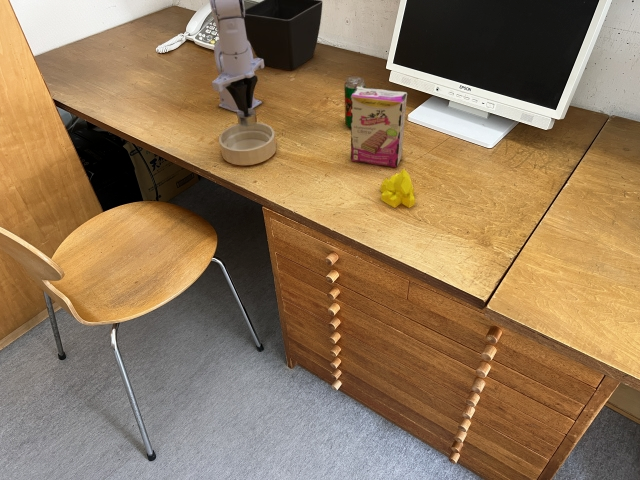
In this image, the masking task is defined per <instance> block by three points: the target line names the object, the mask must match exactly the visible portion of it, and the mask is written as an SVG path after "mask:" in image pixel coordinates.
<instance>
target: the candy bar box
mask: <svg viewBox="0 0 640 480" xmlns="http://www.w3.org/2000/svg"><path fill="white" fill-rule="evenodd" d="M407 99H408V92H406V91H399V90H389V89H381V88H372V87H365V88H364V87H357V88H356V89H355V91H354V93H353V94H352V96H351V128H350V161H351V162H357V163H363V164H370V165H377V166H382V167H383V166H384V167H388V168H389V167H390V168H398V166H399V164H400V162H401V159H402V158H403V157H402V156H403V146H404V145H403V144H404V131H405V124H406V123H405V122H406V110H407Z"/></svg>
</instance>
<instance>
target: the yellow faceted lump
mask: <svg viewBox="0 0 640 480" xmlns="http://www.w3.org/2000/svg"><path fill="white" fill-rule="evenodd" d="M380 192H381V194H380V200H381V201H382V202H383V203H385V204H387V205H388V206H390V207H392V208H394V209H396V208H397V207H398V206H400V205H403V206H405V207H407V208H408V209H410V208H412V207H413V206H415V205H416V198H415V196H414V194H415V193H414V192H415V189H414V187H413V182H412V180H411V175H410V174H409V173H408V172H407V170H406V169H405V168H403V169H402V170H401V171H399V173H395V174H394V175H391V176H390V178H389V179H388V177H385V178H384V180H383V181H382V183H381V184H380Z"/></svg>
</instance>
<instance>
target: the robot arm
mask: <svg viewBox="0 0 640 480" xmlns="http://www.w3.org/2000/svg"><path fill="white" fill-rule="evenodd" d="M209 6H210V10H211V14H212V18H213V20H214V24H215V28H216V31H217V34H218V35H217V36H218V40H217V41H216V42H215V44H214V45H213V52H214V55H213V56H214V61H215V65H216V66H215V67H216V70H217V74H218V76H217V78H215V79H214V80H212V81H211V85H212V89H213V91H214V92H218V96H219V101H220V103H219V104H218V107H219V108H223V109H226V110H229V111H231V112H235V113H237V112H238V111H243V112H246V111H247V105H248V108H249V109H255V108H256V107H258V106H260V105H261V104H262V103H263V101H261V100H259V99H256V98H255V94H254V93H255V89H256V85H257V83H258V81H259V79H258V75H255V71H257V70H259V69H260V70H262V69H264V68H265V65H264V60H263V59H260V58H258V57H255V58H254V54H253V48H252V46H251V44H250V42H249V40H248V37H247V35H246V30H245V23H244V18H243V16H242V15H241V12H242V13H243V15H244V17H245V9H246V8H245V1H244V0H209ZM240 79H243V81H244V84H242V83H241V82H240ZM246 99H247V103H246Z"/></svg>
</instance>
